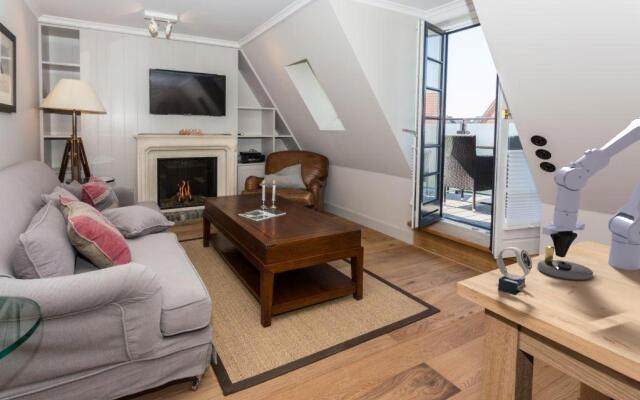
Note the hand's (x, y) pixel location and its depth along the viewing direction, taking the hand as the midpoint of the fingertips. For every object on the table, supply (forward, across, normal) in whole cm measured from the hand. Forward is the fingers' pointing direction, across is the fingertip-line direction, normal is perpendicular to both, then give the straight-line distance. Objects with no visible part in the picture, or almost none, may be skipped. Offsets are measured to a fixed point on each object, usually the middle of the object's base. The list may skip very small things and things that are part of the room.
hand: (560, 256), depth 117 cm
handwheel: (+2, +5, +5) cm, 7 cm away
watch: (+4, +25, +6) cm, 26 cm away
